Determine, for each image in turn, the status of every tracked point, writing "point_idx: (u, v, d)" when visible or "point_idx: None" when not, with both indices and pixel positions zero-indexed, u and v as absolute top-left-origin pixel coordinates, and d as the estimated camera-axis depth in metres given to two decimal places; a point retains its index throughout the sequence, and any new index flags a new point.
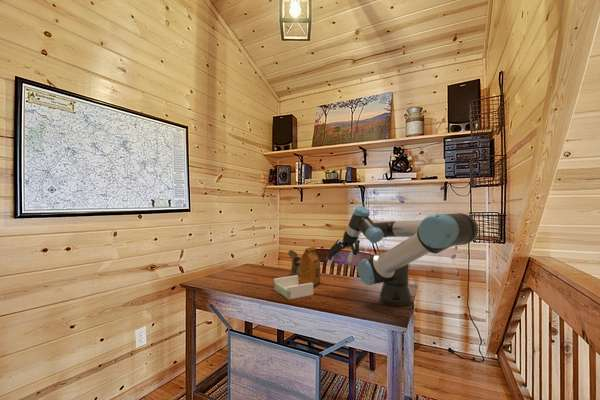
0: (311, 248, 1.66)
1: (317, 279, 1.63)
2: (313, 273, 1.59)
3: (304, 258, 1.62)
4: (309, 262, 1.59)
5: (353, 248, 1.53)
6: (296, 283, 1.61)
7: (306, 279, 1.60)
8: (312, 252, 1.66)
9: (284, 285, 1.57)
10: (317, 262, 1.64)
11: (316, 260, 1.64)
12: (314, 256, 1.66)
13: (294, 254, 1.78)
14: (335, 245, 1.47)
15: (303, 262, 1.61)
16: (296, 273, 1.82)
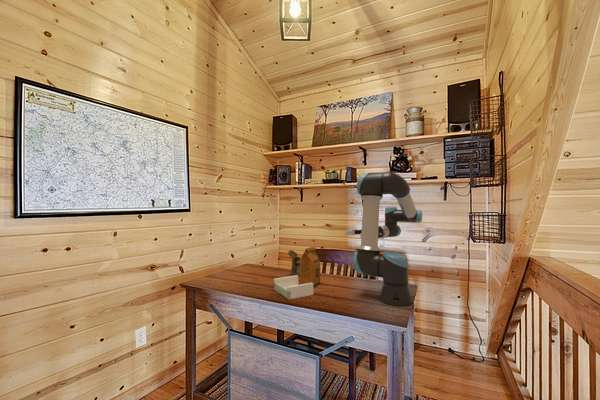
0: (311, 248, 1.66)
1: (317, 279, 1.63)
2: (313, 273, 1.59)
3: (304, 258, 1.62)
4: (309, 262, 1.59)
5: None
6: (296, 283, 1.61)
7: (306, 279, 1.60)
8: (312, 252, 1.66)
9: (284, 285, 1.57)
10: (317, 262, 1.64)
11: (316, 260, 1.64)
12: (314, 256, 1.66)
13: (294, 254, 1.78)
14: None
15: (303, 262, 1.61)
16: (296, 273, 1.82)
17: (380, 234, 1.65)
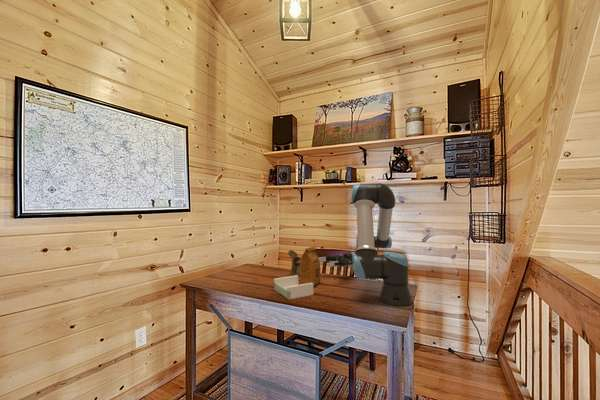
0: (311, 248, 1.66)
1: (317, 279, 1.63)
2: (313, 273, 1.59)
3: (304, 258, 1.62)
4: (309, 262, 1.59)
5: (342, 259, 1.71)
6: (296, 283, 1.61)
7: (306, 279, 1.60)
8: (312, 252, 1.66)
9: (284, 285, 1.57)
10: (317, 262, 1.64)
11: (316, 260, 1.64)
12: (314, 256, 1.66)
13: (294, 254, 1.78)
14: None
15: (303, 262, 1.61)
16: (296, 273, 1.82)
17: (349, 262, 1.71)
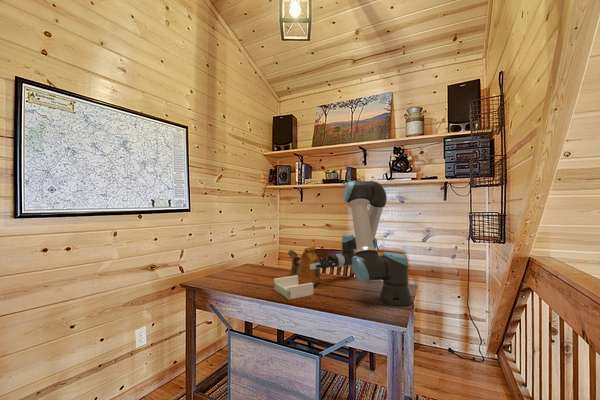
0: (310, 248, 1.66)
1: (317, 279, 1.63)
2: (313, 273, 1.59)
3: (304, 258, 1.62)
4: (309, 262, 1.59)
5: (325, 261, 1.65)
6: (296, 283, 1.61)
7: (306, 279, 1.60)
8: (312, 252, 1.66)
9: (284, 285, 1.57)
10: (317, 262, 1.64)
11: (316, 260, 1.64)
12: (314, 256, 1.66)
13: (294, 254, 1.78)
14: None
15: (303, 262, 1.61)
16: (296, 273, 1.82)
17: (333, 264, 1.64)
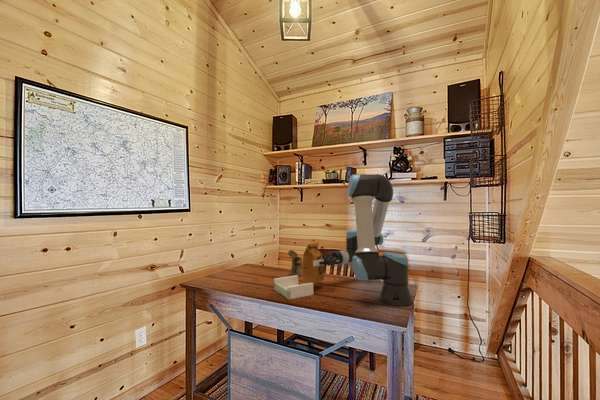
0: (314, 244, 1.59)
1: (320, 276, 1.56)
2: (316, 270, 1.52)
3: (306, 254, 1.55)
4: (312, 258, 1.52)
5: (329, 258, 1.58)
6: (296, 283, 1.61)
7: (309, 276, 1.53)
8: (315, 248, 1.59)
9: (284, 285, 1.57)
10: (320, 258, 1.57)
11: (319, 256, 1.57)
12: (317, 252, 1.59)
13: (294, 254, 1.78)
14: None
15: (305, 258, 1.54)
16: (296, 273, 1.82)
17: (337, 261, 1.57)
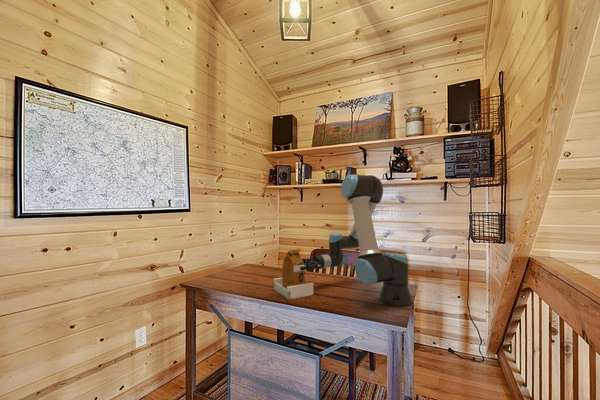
0: (295, 250, 1.52)
1: None
2: (296, 278, 1.46)
3: (286, 261, 1.49)
4: (291, 266, 1.46)
5: (310, 263, 1.51)
6: None
7: (288, 284, 1.47)
8: (296, 255, 1.53)
9: None
10: None
11: (300, 264, 1.51)
12: (298, 259, 1.52)
13: None
14: None
15: (285, 266, 1.48)
16: None
17: (318, 266, 1.51)
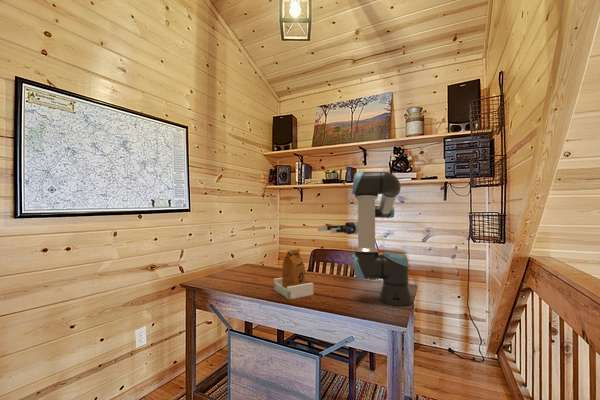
0: (295, 250, 1.53)
1: None
2: (296, 278, 1.46)
3: (286, 261, 1.49)
4: (291, 266, 1.46)
5: (344, 227, 1.67)
6: None
7: (288, 284, 1.47)
8: (296, 255, 1.53)
9: None
10: (301, 266, 1.51)
11: (300, 264, 1.51)
12: (298, 259, 1.52)
13: None
14: None
15: (285, 266, 1.48)
16: None
17: (351, 230, 1.67)
